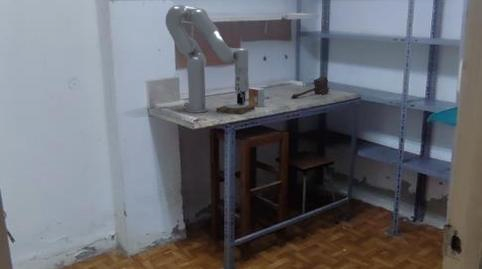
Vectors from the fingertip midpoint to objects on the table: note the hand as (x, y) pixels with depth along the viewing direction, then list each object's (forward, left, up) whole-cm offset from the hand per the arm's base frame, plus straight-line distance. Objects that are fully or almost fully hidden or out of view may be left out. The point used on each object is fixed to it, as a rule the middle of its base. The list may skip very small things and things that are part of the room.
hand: (241, 102), depth 281 cm
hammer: (+16, +64, -5) cm, 66 cm away
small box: (0, +18, -5) cm, 19 cm away
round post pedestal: (-4, 0, -3) cm, 5 cm away
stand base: (-4, 0, -5) cm, 6 cm away
